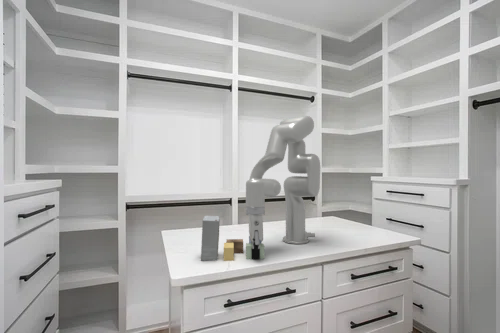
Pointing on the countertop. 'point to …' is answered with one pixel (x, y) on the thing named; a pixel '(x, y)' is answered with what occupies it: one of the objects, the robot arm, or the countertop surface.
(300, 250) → the countertop surface
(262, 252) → the sage brick
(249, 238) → the slate brick
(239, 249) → the walnut brick
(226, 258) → the ochre brick
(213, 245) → the skincare box
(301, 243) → the robot arm
